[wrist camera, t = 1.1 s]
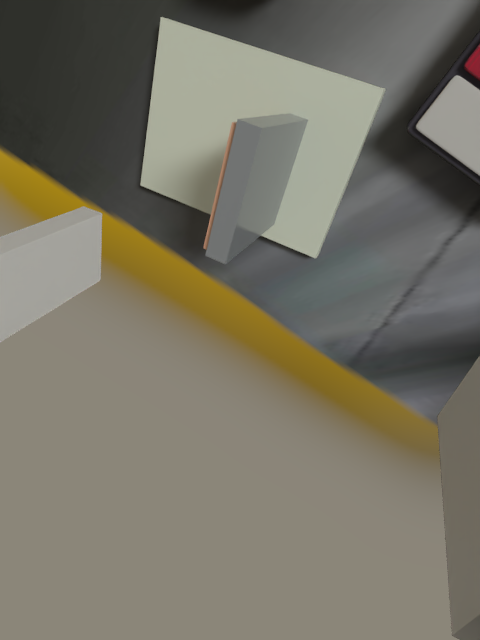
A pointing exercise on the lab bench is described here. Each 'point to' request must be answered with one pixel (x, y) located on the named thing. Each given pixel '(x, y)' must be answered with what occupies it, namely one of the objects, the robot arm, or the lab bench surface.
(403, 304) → the lab bench surface
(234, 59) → the board
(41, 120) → the lab bench surface
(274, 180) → the tile
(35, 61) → the lab bench surface
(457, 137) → the calculator
